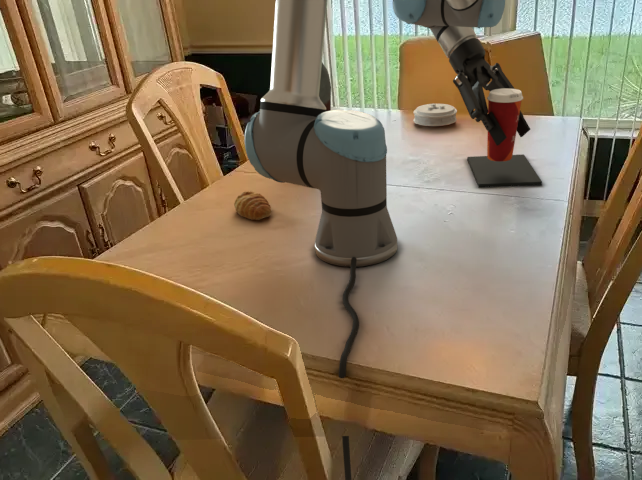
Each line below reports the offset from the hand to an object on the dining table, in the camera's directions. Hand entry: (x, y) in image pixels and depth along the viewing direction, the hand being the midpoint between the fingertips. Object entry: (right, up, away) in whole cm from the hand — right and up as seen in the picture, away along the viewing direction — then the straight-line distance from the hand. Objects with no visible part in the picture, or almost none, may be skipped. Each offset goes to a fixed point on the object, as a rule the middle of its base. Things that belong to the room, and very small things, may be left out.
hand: (513, 137), depth 136 cm
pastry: (-56, -18, -4) cm, 60 cm away
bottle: (-45, +5, +26) cm, 52 cm away
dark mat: (0, -4, +10) cm, 10 cm away
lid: (-12, +22, +46) cm, 52 cm away
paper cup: (-2, -3, +5) cm, 6 cm away
